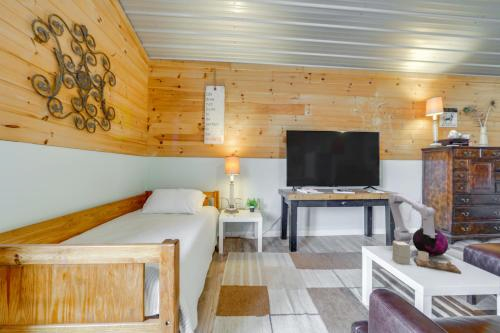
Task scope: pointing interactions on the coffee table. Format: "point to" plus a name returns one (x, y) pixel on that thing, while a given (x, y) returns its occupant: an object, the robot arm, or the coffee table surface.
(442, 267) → the pin board
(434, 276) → the coffee table surface
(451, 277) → the coffee table surface
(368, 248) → the coffee table surface
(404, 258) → the supplement box
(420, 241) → the decorative sphere
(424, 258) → the sleeve
